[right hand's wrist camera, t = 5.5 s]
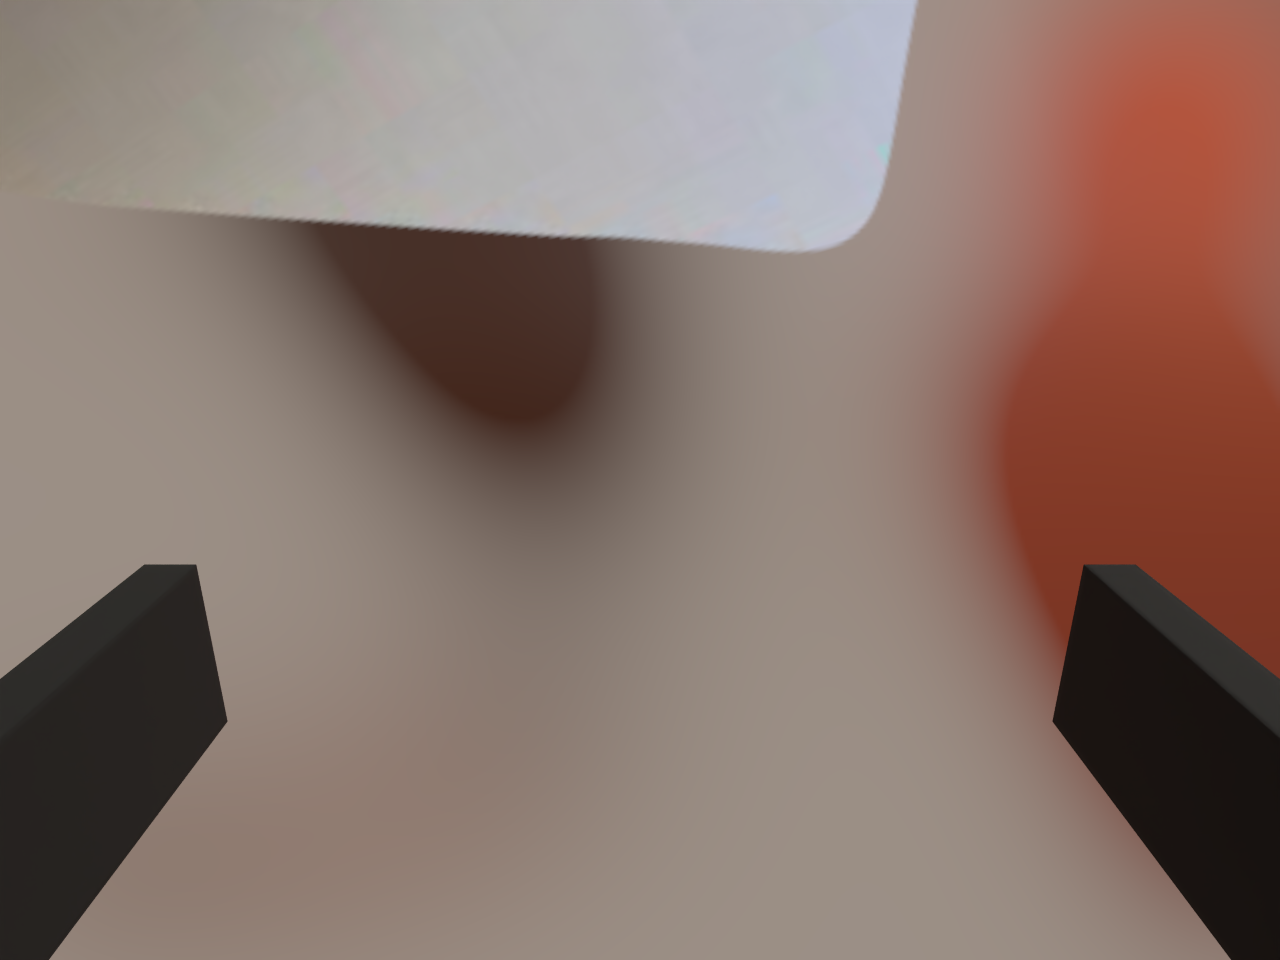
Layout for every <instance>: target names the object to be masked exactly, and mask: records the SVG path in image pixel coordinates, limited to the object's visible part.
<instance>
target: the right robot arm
mask: <svg viewBox="0 0 1280 960" xmlns="http://www.w3.org/2000/svg"><path fill="white" fill-rule="evenodd" d="M226 723H227V717H226V712H225V707H224V702H223V696H222V692H221V687H220V681H219V676H218V671H217V666H216V661H215V656H214V651H213V646H212V641H211V636H210V631H209V626H208V621H207V616H206V611H205V606H204V601H203V596H202V591H201V586H200V581H199V576H198V571H197V566H196V565H143V566H142V567H141V568H140V569H138V570H137V571H136V572H135V573H133V574H132V575H131V576H129V577H128V578H127V579H126V580H125V581H123V582H122V583H121V584H119V585H118V586H117V587H116V588H114V589H113V590H112V591H111V592H109V593H108V594H107V595H106V596H104V597H103V598H102V599H101V600H99V601H98V602H97V603H95V604H94V605H93V606H92V607H90V608H89V609H88V610H87V611H85V612H84V613H83V614H82V615H80V616H79V617H78V618H77V619H75V620H74V621H73V622H72V623H70V624H69V625H68V626H67V627H65V628H64V629H63V630H62V631H60V632H59V633H58V634H56V635H55V636H54V637H53V638H51V639H50V640H49V641H48V642H46V643H45V644H44V645H43V646H41V647H40V648H39V649H38V650H36V651H35V652H34V653H32V654H31V655H30V656H29V657H27V658H26V659H25V660H24V661H22V662H21V663H20V664H19V665H17V666H16V667H15V668H14V669H12V670H11V671H10V672H9V673H7V674H6V675H5V676H4V677H2V678H1V679H0V960H49V959H50V957H51V956H52V955H53V953H54V952H55V951H56V949H57V948H58V947H59V945H60V944H61V943H62V941H63V940H64V939H65V937H66V936H67V935H68V933H69V932H70V931H71V929H72V928H73V927H74V925H75V924H76V923H77V921H78V920H79V919H80V917H81V916H82V915H83V913H84V912H85V911H86V909H87V908H88V907H89V905H90V904H91V903H92V901H93V900H94V899H95V897H96V896H97V895H98V893H99V892H100V891H101V889H102V888H103V887H104V885H105V884H106V883H107V881H108V880H109V879H110V877H111V876H112V875H113V873H114V872H115V871H116V869H117V868H118V867H119V865H120V864H121V863H122V861H123V860H124V859H125V857H126V856H127V855H128V853H129V852H130V851H131V849H132V848H133V847H134V845H135V844H136V843H137V841H138V840H139V839H140V837H141V836H142V835H143V833H144V832H145V831H146V829H147V828H148V827H149V825H150V824H151V823H152V821H153V820H154V819H155V817H156V816H157V815H158V813H159V812H160V811H161V809H162V808H163V807H164V805H165V804H166V803H167V801H168V800H169V799H170V797H171V796H172V795H173V793H174V792H175V791H176V789H177V788H178V787H179V785H180V784H181V783H182V781H183V780H184V779H185V777H186V776H187V775H188V773H189V772H190V771H191V769H192V768H193V767H194V765H195V764H196V763H197V761H198V760H199V759H200V757H201V756H202V755H203V753H204V752H205V751H206V749H207V748H208V747H209V745H210V744H211V743H212V741H213V740H214V739H215V737H216V736H217V735H218V733H219V732H220V731H221V729H222V728H223V727H224V725H225V724H226ZM1053 723H1054V724H1055V725H1056V727H1057V728H1058V729H1059V731H1060V732H1061V733H1062V735H1063V736H1064V737H1065V739H1066V740H1067V741H1068V743H1069V744H1070V745H1071V747H1072V748H1073V749H1074V751H1075V752H1076V753H1077V755H1078V756H1079V757H1080V759H1081V760H1082V761H1083V763H1084V764H1085V765H1086V767H1087V768H1088V769H1089V771H1090V772H1091V773H1092V775H1093V776H1094V777H1095V779H1096V780H1097V781H1098V783H1099V784H1100V785H1101V787H1102V788H1103V789H1104V791H1105V792H1106V793H1107V795H1108V796H1109V797H1110V799H1111V800H1112V801H1113V803H1114V804H1115V805H1116V807H1117V808H1118V809H1119V811H1120V812H1121V813H1122V815H1123V816H1124V817H1125V819H1126V820H1127V821H1128V823H1129V824H1130V825H1131V827H1132V828H1133V829H1134V831H1135V832H1136V833H1137V835H1138V836H1139V837H1140V839H1141V840H1142V841H1143V843H1144V844H1145V845H1146V847H1147V848H1148V849H1149V851H1150V852H1151V853H1152V855H1153V856H1154V857H1155V859H1156V860H1157V861H1158V863H1159V864H1160V865H1161V867H1162V868H1163V869H1164V871H1165V872H1166V873H1167V875H1168V876H1169V877H1170V879H1171V880H1172V881H1173V883H1174V884H1175V885H1176V887H1177V888H1178V889H1179V891H1180V892H1181V893H1182V895H1183V896H1184V897H1185V899H1186V900H1187V901H1188V903H1189V904H1190V905H1191V907H1192V908H1193V909H1194V911H1195V912H1196V913H1197V915H1198V916H1199V917H1200V919H1201V920H1202V921H1203V923H1204V924H1205V925H1206V927H1207V928H1208V929H1209V931H1210V932H1211V933H1212V935H1213V936H1214V937H1215V939H1216V940H1217V941H1218V943H1219V944H1220V945H1221V947H1222V948H1223V949H1224V951H1225V952H1226V953H1227V955H1228V956H1229V957H1230V959H1231V960H1280V679H1279V678H1278V677H1276V676H1275V675H1274V674H1273V673H1271V672H1270V671H1269V670H1268V669H1266V668H1265V667H1264V666H1263V665H1261V664H1260V663H1259V662H1258V661H1256V660H1255V659H1254V658H1253V657H1251V656H1250V655H1249V654H1248V653H1246V652H1245V651H1244V650H1242V649H1241V648H1240V647H1239V646H1237V645H1236V644H1235V643H1234V642H1232V641H1231V640H1230V639H1229V638H1227V637H1226V636H1225V635H1224V634H1222V633H1221V632H1220V631H1218V630H1217V629H1216V628H1215V627H1213V626H1212V625H1211V624H1210V623H1208V622H1207V621H1206V620H1205V619H1203V618H1202V617H1201V616H1200V615H1198V614H1197V613H1196V612H1195V611H1193V610H1192V609H1191V608H1190V607H1188V606H1187V605H1186V604H1185V603H1183V602H1182V601H1181V600H1179V599H1178V598H1177V597H1176V596H1174V595H1173V594H1172V593H1171V592H1169V591H1168V590H1167V589H1166V588H1164V587H1163V586H1162V585H1160V584H1159V583H1158V582H1157V581H1156V580H1154V579H1153V578H1152V577H1151V576H1149V575H1148V574H1147V573H1145V572H1144V571H1143V570H1142V569H1140V568H1139V567H1138V566H1137V565H1084V566H1083V571H1082V576H1081V581H1080V586H1079V591H1078V596H1077V601H1076V606H1075V611H1074V616H1073V621H1072V626H1071V631H1070V636H1069V641H1068V646H1067V651H1066V656H1065V661H1064V666H1063V672H1062V676H1061V681H1060V686H1059V691H1058V696H1057V702H1056V707H1055V712H1054V717H1053Z"/></svg>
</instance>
